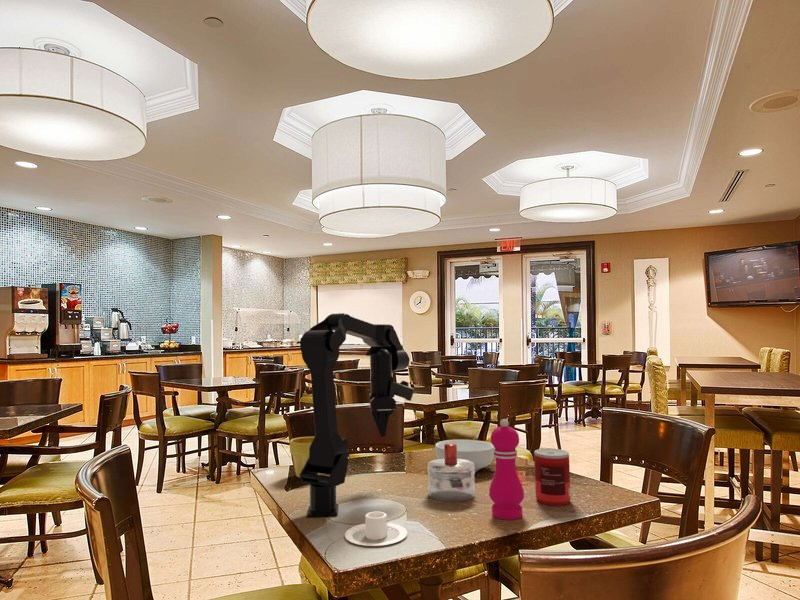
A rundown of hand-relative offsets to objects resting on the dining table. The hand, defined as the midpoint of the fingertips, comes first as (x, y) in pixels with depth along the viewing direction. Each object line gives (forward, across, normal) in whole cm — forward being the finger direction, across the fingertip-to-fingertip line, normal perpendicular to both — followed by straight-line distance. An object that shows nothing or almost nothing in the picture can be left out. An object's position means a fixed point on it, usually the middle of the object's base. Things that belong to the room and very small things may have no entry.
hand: (382, 433), depth 138 cm
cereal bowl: (+13, +12, -24) cm, 30 cm away
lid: (+8, -11, -16) cm, 21 cm away
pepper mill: (+13, -27, -25) cm, 39 cm away
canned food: (+13, -19, -38) cm, 45 cm away
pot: (+13, -11, -16) cm, 23 cm away
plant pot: (+13, +12, +20) cm, 27 cm away
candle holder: (+14, -35, +3) cm, 38 cm away
